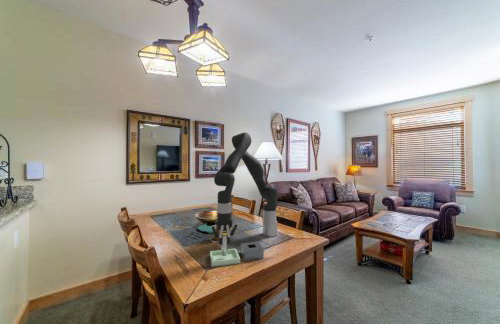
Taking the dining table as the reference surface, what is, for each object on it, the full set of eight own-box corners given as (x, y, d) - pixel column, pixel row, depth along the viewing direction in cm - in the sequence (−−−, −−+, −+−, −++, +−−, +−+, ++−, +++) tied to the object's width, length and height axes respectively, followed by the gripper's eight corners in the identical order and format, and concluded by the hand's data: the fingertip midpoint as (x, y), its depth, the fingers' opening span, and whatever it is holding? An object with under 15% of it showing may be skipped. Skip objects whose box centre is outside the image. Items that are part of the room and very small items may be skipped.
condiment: (225, 240, 133) (225, 221, 133) (213, 242, 128) (213, 223, 128) (220, 236, 139) (220, 218, 139) (208, 239, 134) (208, 220, 134)
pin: (228, 252, 109) (228, 230, 109) (229, 256, 105) (229, 232, 105) (219, 253, 108) (219, 230, 108) (220, 257, 104) (220, 233, 104)
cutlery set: (230, 228, 156) (230, 225, 156) (198, 241, 132) (198, 237, 132) (212, 223, 168) (212, 220, 168) (180, 234, 144) (180, 231, 144)
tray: (235, 252, 114) (235, 248, 114) (240, 263, 103) (240, 258, 103) (210, 255, 111) (210, 251, 111) (211, 267, 99) (211, 262, 99)
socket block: (258, 250, 118) (258, 241, 118) (263, 258, 108) (263, 249, 108) (240, 252, 115) (240, 243, 115) (245, 260, 105) (245, 251, 105)
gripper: (236, 208, 112) (236, 240, 112) (210, 210, 108) (210, 242, 109) (239, 212, 105) (239, 245, 105) (211, 213, 101) (211, 248, 101)
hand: (224, 244), depth 107 cm, fingers closed on pin, 3 cm apart
